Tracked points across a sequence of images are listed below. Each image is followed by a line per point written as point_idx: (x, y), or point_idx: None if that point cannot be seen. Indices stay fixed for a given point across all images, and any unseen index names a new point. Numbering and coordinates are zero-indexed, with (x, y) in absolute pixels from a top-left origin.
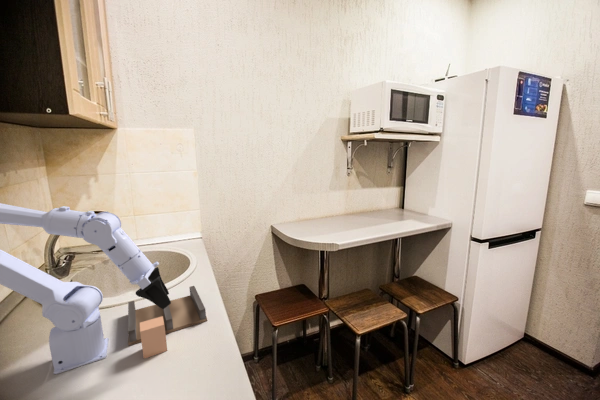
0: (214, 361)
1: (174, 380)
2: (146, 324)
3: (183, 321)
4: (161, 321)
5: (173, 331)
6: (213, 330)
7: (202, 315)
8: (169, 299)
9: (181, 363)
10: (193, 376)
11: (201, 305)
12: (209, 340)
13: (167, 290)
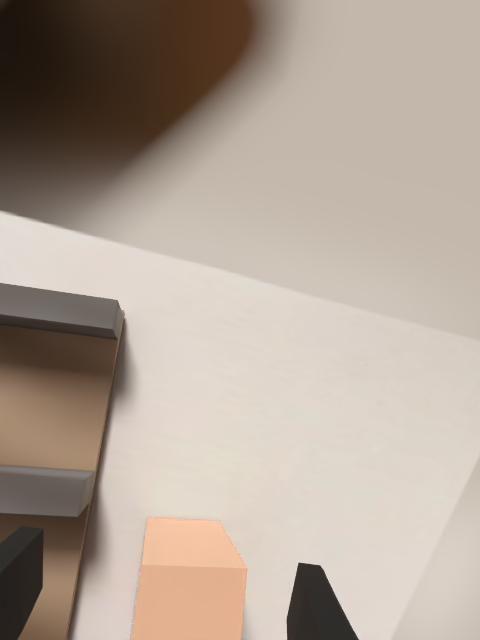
0: (373, 381)
1: (386, 524)
2: None
3: (66, 412)
4: (201, 580)
5: (96, 469)
6: (206, 319)
7: (118, 325)
8: (330, 589)
9: (321, 484)
10: (401, 462)
11: (66, 303)
12: (258, 355)
13: (24, 550)
